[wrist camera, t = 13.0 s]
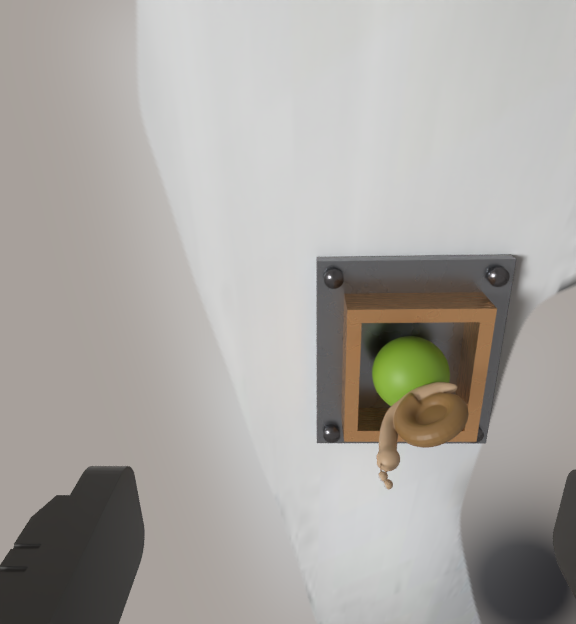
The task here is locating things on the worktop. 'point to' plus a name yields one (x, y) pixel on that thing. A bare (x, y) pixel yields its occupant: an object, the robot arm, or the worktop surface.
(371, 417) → the socket plate
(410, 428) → the snail figurine
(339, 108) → the worktop surface
